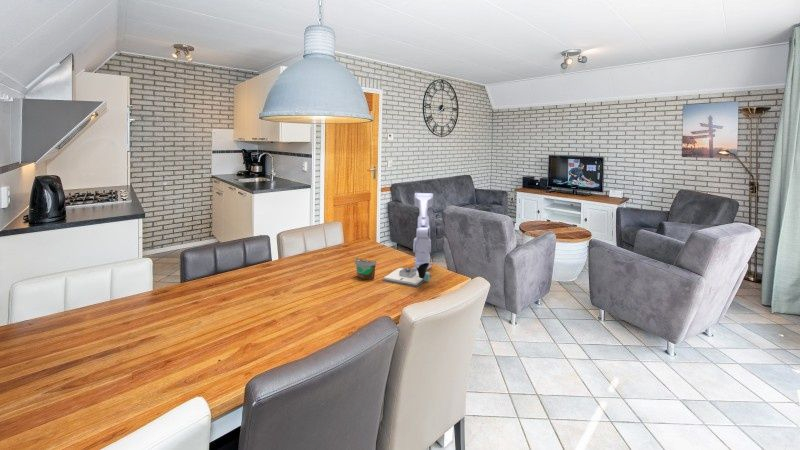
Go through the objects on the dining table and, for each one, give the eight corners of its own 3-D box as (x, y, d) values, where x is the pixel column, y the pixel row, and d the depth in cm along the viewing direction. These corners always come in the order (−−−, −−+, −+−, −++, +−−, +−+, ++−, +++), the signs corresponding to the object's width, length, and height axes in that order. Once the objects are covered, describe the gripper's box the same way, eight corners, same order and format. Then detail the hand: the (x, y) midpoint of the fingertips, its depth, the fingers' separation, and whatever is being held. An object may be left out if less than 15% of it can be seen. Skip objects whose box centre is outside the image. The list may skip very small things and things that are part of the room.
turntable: (399, 269, 224) (399, 263, 223) (435, 275, 215) (435, 269, 214) (384, 279, 208) (384, 272, 207) (422, 286, 199) (422, 279, 198)
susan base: (398, 270, 225) (398, 269, 225) (431, 276, 217) (431, 274, 217) (382, 281, 208) (382, 279, 208) (416, 287, 200) (416, 286, 200)
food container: (350, 278, 211) (349, 259, 209) (356, 275, 216) (356, 257, 214) (370, 282, 206) (370, 263, 203) (376, 279, 211) (376, 260, 209)
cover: (404, 272, 216) (404, 266, 215) (415, 274, 213) (416, 267, 213) (399, 275, 210) (399, 269, 210) (410, 277, 208) (411, 271, 207)
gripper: (420, 246, 207) (420, 272, 210) (409, 253, 194) (408, 280, 197) (433, 248, 204) (432, 274, 207) (422, 255, 191) (421, 283, 194)
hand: (421, 277), depth 202 cm, fingers closed
